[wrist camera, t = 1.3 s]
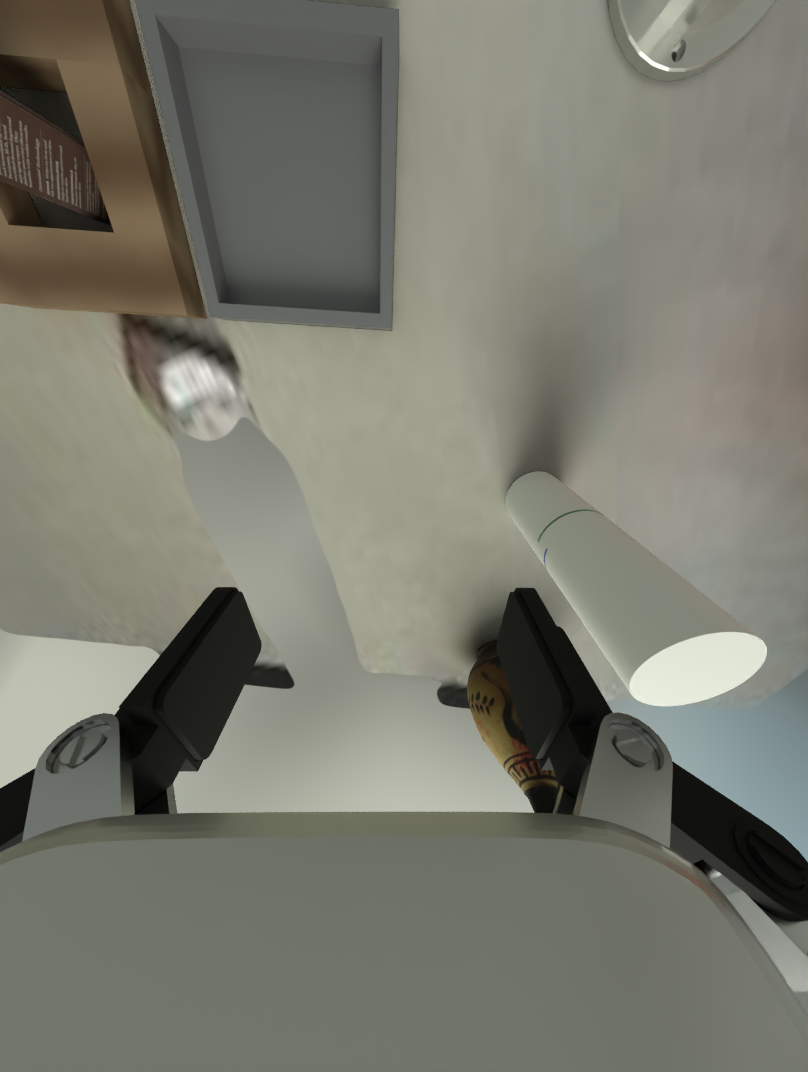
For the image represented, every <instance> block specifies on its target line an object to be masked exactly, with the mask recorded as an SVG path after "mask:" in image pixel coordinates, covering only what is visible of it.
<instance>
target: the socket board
mask: <svg viewBox="0 0 808 1072" xmlns="http://www.w3.org/2000/svg"><path fill="white" fill-rule="evenodd" d="M0 86H1V87H12V88H23V89H35V90H46V91H58V92H67V94H68V97H69V100H70V103H71V106H72V109H73V112H74V115H75V118H76V121H77V124H78V127H79V130H80V133H81V136H82V139H83V142H84V145H85V148H86V151H87V153H88V156H89V159H90V162H91V165H92V168H93V171H94V174H95V177H96V180H97V183H98V186H99V189H100V192H101V195H102V198H103V201H104V204H105V207H106V210H107V213H108V216H109V219H110V222H111V225H112V228H113V231H114V233H112V232H99V231H85V230H71V229H57V228H44V227H43V224H42V222H41V220H40V217H39V215H38V213H37V210H36V208H35V206H34V203H33V201H32V199H31V196H30V194H29V192H27V191H25V190H23V189H20V188H18V187H15V186H13V185H10V184H8V183H5V182H3V181H0V303H3V304H10V305H18V306H25V307H33V308H45V309H61V310H76V311H92V312H107V313H123V314H138V315H154V316H170V317H185V318H201V319H207V317H206V313H205V309H204V305H203V301H202V297H201V293H200V289H199V285H198V281H197V276H196V272H195V268H194V264H193V260H192V256H191V252H190V248H189V244H188V240H187V235H186V231H185V227H184V223H183V219H182V215H181V211H180V207H179V203H178V199H177V195H176V190H175V186H174V182H173V178H172V174H171V170H170V166H169V162H168V158H167V154H166V149H165V145H164V141H163V137H162V133H161V129H160V125H159V121H158V117H157V113H156V109H155V104H154V100H153V96H152V92H151V88H150V84H149V80H148V76H147V72H146V68H145V64H144V59H143V55H142V51H141V47H140V43H139V39H138V35H137V31H136V27H135V23H134V18H133V14H132V10H131V6H130V2H129V0H0Z"/></svg>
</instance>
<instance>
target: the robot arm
mask: <svg viewBox="0 0 808 1072" xmlns="http://www.w3.org/2000/svg"><path fill="white" fill-rule="evenodd" d="M776 1H777V0H608V4H609V13H610V18H611V21H612V25H613V29H614V33H615V36H616V39H617V41H618V43H619V45H620V47H621V49H622V51H623V53H624V55H625V57H626V58H627V60H628V61H629V62H630V63H631V64H632V65H633V66H634V68H635V69H636V70H637V71H639V72H640V73H642V74H644V75H646V76H647V77H649V78H651V79H655V80H661V81H666V82H667V81H674V80H681V79H686V78H688V77H690V76H693V75H695V74H697V73H700V72H702V71H704V70H705V69H707V68H708V67H710V66H711V65H713V64H714V63H716V62H717V61H719V60H720V59H722V58H723V57H724V56H725V55H726V54H727V53H728V52H729V51H730V50H732V49H733V48H734V47H735V46H736V45H737V44H738V43H739V42H740V41H742V40H743V39H744V38H745V37H746V36H747V35H748V34H749V32H750V31H751V30H752V29H753V28H754V27H755V26H756V25H757V24H758V23H759V22H760V21H761V20H762V19H763V18H764V17H765V15H766V14H767V13H768V12H769V10H770V9H771V8H772V6H773V5H774V4H775V3H776ZM260 651H261V640H260V638H259V635H258V632H257V630H256V627H255V624H254V622H253V619H252V617H251V614H250V611H249V609H248V606H247V603H246V601H245V598H244V596H243V593H242V592H239V591H238V589H237V588H235V587H217V588H215V589H214V590H213V591H212V592H211V594H210V595H209V596H208V597H207V599H206V600H205V601H204V602H203V604H202V605H201V606H200V607H199V609H198V610H197V611H196V612H195V613H194V615H193V616H192V617H191V618H190V620H189V621H188V622H187V623H186V625H185V626H184V627H183V628H182V630H181V631H180V632H179V633H178V634H177V636H176V637H175V638H174V639H173V641H172V642H171V643H170V644H169V646H168V647H167V648H166V649H165V651H164V652H163V653H162V654H161V655H160V657H159V658H158V659H157V660H156V662H155V663H154V664H153V665H152V667H151V668H150V669H149V670H148V672H147V673H146V674H145V675H144V677H143V678H142V679H141V680H140V682H139V683H138V684H137V685H136V686H135V688H134V689H133V690H132V691H131V693H130V694H129V695H128V697H127V698H126V699H125V700H124V701H123V702H122V704H121V705H120V706H119V708H120V709H119V710H118V711H117V713H116V714H115V715H113V714H106V713H103V714H99V715H93V716H91V717H89V718H86V719H84V720H81V721H80V722H78V723H76V724H75V725H73V726H71V727H70V728H68V729H67V730H66V731H65V732H63V733H62V734H60V735H59V736H58V737H57V738H56V739H55V740H54V741H53V742H52V743H51V744H50V745H49V746H48V747H47V748H46V750H45V751H44V753H43V754H42V755H41V757H40V758H39V761H38V763H37V766H36V768H35V769H33V770H31V771H30V772H28V773H26V774H25V775H23V776H21V777H19V778H18V779H16V780H14V781H12V782H11V783H9V784H7V785H6V786H4V787H2V788H0V1072H808V862H807V861H806V860H805V858H804V857H803V856H802V855H801V854H800V852H799V851H798V850H797V849H796V848H795V847H794V846H793V845H792V844H791V843H790V842H789V841H788V840H787V839H786V838H785V837H783V836H782V835H781V834H779V833H778V832H777V831H776V830H774V829H773V828H771V827H770V826H769V825H767V824H766V823H764V822H763V821H761V820H760V819H758V818H757V817H755V816H754V815H752V814H751V813H749V812H748V811H746V810H745V809H743V808H742V807H740V806H739V805H737V804H736V803H734V802H733V801H731V800H730V799H728V798H727V797H725V796H724V795H722V794H721V793H719V792H718V791H716V790H715V789H713V788H712V787H710V786H709V785H707V784H706V783H704V782H703V781H701V780H700V779H698V778H697V777H695V776H694V775H692V774H691V773H689V772H687V771H686V770H685V769H683V768H681V767H680V766H678V765H677V764H675V763H674V762H672V758H671V755H670V753H669V751H668V749H667V747H666V745H665V744H664V742H663V741H662V740H661V738H660V737H659V736H658V735H657V734H656V733H655V732H654V731H653V730H652V729H651V728H650V727H649V726H647V725H646V724H644V723H643V722H642V721H640V720H638V719H637V718H634V717H632V716H630V715H627V714H623V713H612V711H611V710H610V707H609V706H608V704H607V702H606V701H605V699H604V697H603V696H602V694H601V692H600V691H599V689H598V687H597V685H596V684H595V682H594V680H593V679H592V677H591V675H590V674H589V672H588V670H587V669H586V667H585V665H584V663H583V662H582V660H581V658H580V657H579V655H578V653H577V652H576V650H575V648H574V647H573V645H572V643H571V641H570V640H569V638H568V636H567V635H566V633H565V632H564V630H563V629H562V628H560V627H557V626H556V624H555V623H554V621H553V619H552V617H551V616H550V614H549V612H548V610H547V609H546V607H545V605H544V603H543V602H542V600H541V598H540V597H539V595H538V593H537V591H536V590H535V589H534V588H516V589H515V591H514V592H511V593H510V594H509V598H508V602H507V605H506V609H505V613H504V617H503V621H502V624H501V628H500V632H499V636H498V639H497V652H498V655H499V658H500V661H501V665H502V668H503V671H504V674H505V677H506V680H507V683H508V686H509V689H510V692H511V696H512V699H513V702H514V705H515V708H516V711H517V714H518V717H519V720H520V724H521V727H522V730H523V733H524V736H525V739H526V742H527V745H528V748H529V751H530V754H531V756H532V757H533V758H534V759H538V762H539V765H540V768H541V770H554V772H555V775H556V777H557V780H558V783H559V784H560V785H561V787H560V790H559V793H558V797H557V800H556V803H555V807H554V810H553V813H514V812H268V813H267V812H266V813H265V812H264V813H182V814H177V807H176V801H175V794H174V786H173V782H174V780H175V778H176V776H177V774H178V772H179V771H198V770H199V768H200V766H201V764H202V762H203V760H204V759H207V758H208V757H209V756H210V754H211V752H212V751H213V749H214V746H215V745H216V742H217V740H218V738H219V736H220V734H221V732H222V730H223V728H224V726H225V724H226V722H227V719H228V718H229V716H230V713H231V711H232V709H233V707H234V705H235V703H236V701H237V699H238V697H239V695H240V693H241V691H242V689H243V686H244V684H245V682H246V680H247V678H248V676H249V674H250V672H251V670H252V668H253V666H254V664H255V662H256V660H257V657H258V655H259V653H260Z"/></svg>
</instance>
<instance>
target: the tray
mask: <svg viewBox="0 0 808 1072" xmlns="http://www.w3.org/2000/svg"><path fill="white" fill-rule="evenodd" d="M135 2H136V6H137V10H138V14H139V18H140V23H141V27H142V31H143V35H144V39H145V44H146V48H147V52H148V56H149V60H150V65H151V69H152V73H153V77H154V81H155V86H156V90H157V94H158V98H159V102H160V107H161V111H162V115H163V119H164V123H165V128H166V132H167V136H168V140H169V144H170V149H171V153H172V157H173V161H174V165H175V170H176V174H177V178H178V182H179V186H180V191H181V195H182V199H183V203H184V207H185V212H186V216H187V220H188V224H189V228H190V233H191V237H192V241H193V245H194V249H195V254H196V258H197V262H198V266H199V270H200V275H201V279H202V283H203V287H204V291H205V296H206V300H207V304H208V308H209V312H210V317H215V318H220V319H224V320H232V321H247V322H263V323H278V324H294V325H309V326H325V327H341V328H356V329H372V330H387V331H392V317H393V278H394V238H395V199H396V159H397V120H398V81H399V9H390V8H380V7H370V6H360V5H349V4H339V3H329V2H319V1H309V0H135Z"/></svg>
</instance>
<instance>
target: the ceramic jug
mask: <svg viewBox="0 0 808 1072" xmlns="http://www.w3.org/2000/svg"><path fill="white" fill-rule="evenodd" d="M477 659H478V660H477V662H476V663H475V665H474V666H473V668H472V670H471V672H470V674H469V678H468V685H467V695H468V702H469V706H470V709H471V712H472V715H473V718H474V721H475V723H476V725H477V728H478V730H479V732H480V734H481V736H482V738H483V740H484V741H485V743H486V744H487V746H488V747H489V749H490V750H491V752H492V753H493V754H494V755H495V757H496V758H497V760H498V761H499V763H500V764H501V765H502V766H503V768H504V769H505V771H506V772H508V774H509V775H510V777H511V778H512V779H514V781H515V782H516V783H517V784H518V786H519V787H520V788H521V790H522V791H523V792H524V794H525V795H526V796H527V797H528V799H529V801H530V803H531V805H532V808H533V810H534V812H535V813H553V810H554V807H555V803H556V800H557V797H558V793H559V790H560V787H561V785H560V784H559V783H558V780H557V777H556V775H555V772H554V770H541V768H540V765H539V762H538V759H534V758H533V757H532V756H531V754H530V751H529V748H528V745H527V742H526V739H525V736H524V733H523V730H522V727H521V724H520V720H519V717H518V714H517V711H516V708H515V705H514V702H513V699H512V696H511V692H510V689H509V686H508V683H507V680H506V677H505V674H504V671H503V668H502V665H501V661H500V658H499V655H498V652H497V640H494V641H492V642H488V643H486V644H485V645H483V646H482V647H480V648H479V649H478V654H477Z"/></svg>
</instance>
